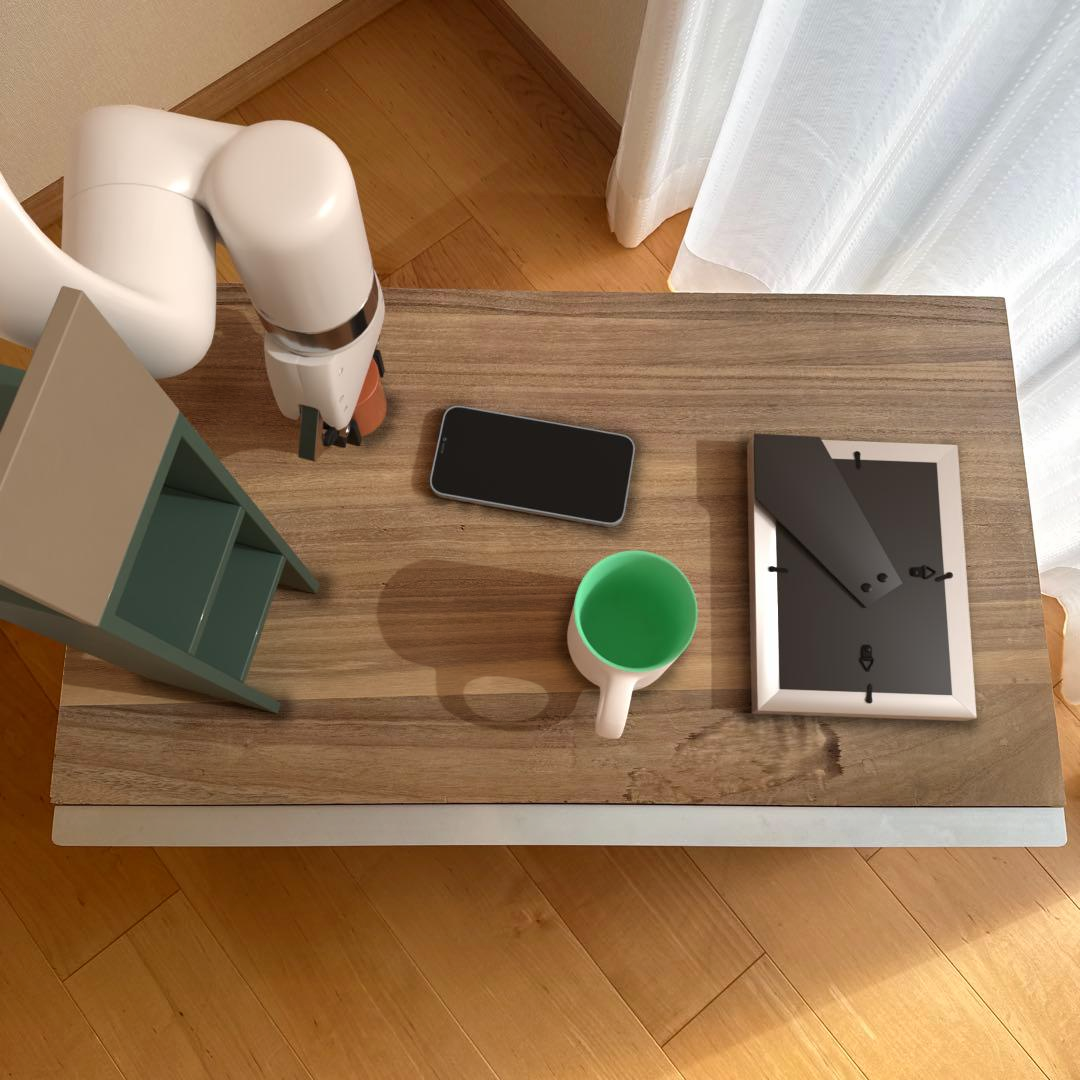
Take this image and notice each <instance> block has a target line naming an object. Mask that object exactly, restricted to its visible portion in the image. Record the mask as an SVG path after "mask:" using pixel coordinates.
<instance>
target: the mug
mask: <svg viewBox="0 0 1080 1080" xmlns="http://www.w3.org/2000/svg"><path fill="white" fill-rule="evenodd" d="M698 614H699V613H698V601H697V598H696V594H695V591H694V588H693V587H692V584H691V582H690V581H689V579H688V578H687V576H686V575H685V574H684V572H682V570H681V569H680V568H679V567H678V566H677V565H676V564H674V563H673V562H671V561H670V560H668V559H667V558H665V557H663V556H661V555H659V554H657V553H653V552H649V551H644V550H625V551H619V552H616V553H613V554H610V555H608V556H606V557H603V558H602V559H600V561H597V563H595V564H594V565H593V566H592V567H591V568H590V569H589V570H588V571H587V572H586V574H585V575H584V576H583V578H582V580H581V581H580V584H579V586H578V588H577V591H576V594H575V598H574V602H573V605H572V609H571V614H570V617H569V622H568V626H567V632H566V633H567V634H566V639H567V640H566V641H567V648H568V652H569V655H570V657H571V660H572V662H573V664H574V666H575V667H576V669H577V670H578V672H580V674H581V675H582V676H583V677H584V678H586V679H587V680H588V681H589V682H591V683H592V684H593V685H596V686H597V687H599V700H598V705H597V711H596V718H595V724H594V732H595V734H596V735H597V736H599V737H601V738H605V739H609V740H617V739H620V738H621V737H622V735H623V732H624V729H625V726H626V722H627V718H628V714H629V709H630V705H631V700H632V694H633V691H637V690H640V689H644V688H645V687H648V686H649V685H651V684H653V683H654V682H656V681H657V680H658V679H659V678H660V677H661V676H662V675H663V674H664V673H665V672H666V670H667V669H668V668H669V667H670V666H671V665H673V663H674V662H675V661H676V660H677V659H678V658H679V657H680V656H681V655H682V654H683V652H684V651H685V650H686V649H687V647H689V644H690V643H691V642H692V639H693V637H694V635H695V632H696V628H697V624H698Z"/></svg>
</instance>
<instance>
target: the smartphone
mask: <svg viewBox="0 0 1080 1080" xmlns="http://www.w3.org/2000/svg"><path fill="white" fill-rule="evenodd" d="M437 439H438V440H437V444H436V449H435V454H434V458H433V463H432V468H431V472H430V477H429V483H430V484H429V485H430V488H431V491H432V492H433V494H434V495H435V496H437V497H439V498H444V499H449V500H454V501H459V502H465V503H471V504H475V505H483V506H487V507H493V508H499V509H505V510H511V511H516V512H521V513H528V514H533V515H537V516H538V515H539V516H543V517H544V516H545V517H550V518H555V519H561V520H567V521H572V522H578V523H584V524H589V525H594V526H600V527H605V528H606V527H607V528H612V527H613V528H614V527H615V526H618V525H619V524H620V523H622V520H623V518H624V516H625V512H626V507H627V503H628V502H627V500H628V495H629V489H630V482H631V478H632V477H631V476H632V472H633V465H634V464H633V463H634V458H635V452H636V446H635V443H634V441H633V440H632V439H631V437H629V436H627V435H626V434H622V433H616V432H612V431H604V430H599V429H594V428H590V427H589V428H588V427H582V426H577V425H572V424H565V423H559V422H554V421H549V420H542V419H537V418H532V417H526V416H521V415H514V414H509V413H503V412H497V411H492V410H487V409H486V410H485V409H480V408H475V407H469V406H464V405H454V406H451V407H449V408H448V409H446V411H445V412H444V414H443V417H442V421H441V426H440V429H439V435H438V438H437Z"/></svg>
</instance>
